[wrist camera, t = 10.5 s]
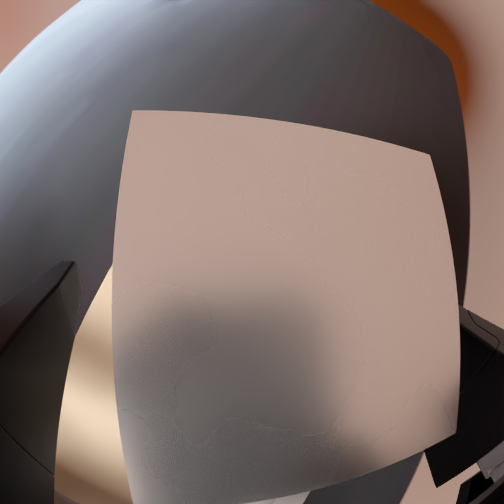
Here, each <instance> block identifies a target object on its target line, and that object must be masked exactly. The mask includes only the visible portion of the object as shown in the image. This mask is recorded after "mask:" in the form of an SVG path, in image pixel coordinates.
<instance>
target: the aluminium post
mask: <svg viewBox="0 0 504 504" xmlns="http://www.w3.org/2000/svg"><path fill="white" fill-rule="evenodd" d="M112 350H113V369H114V383H115V395H116V405H117V414H118V423H119V430H120V437H121V444H122V450H123V456H124V462H125V468H126V473H127V478H128V483H129V488H130V492H131V497H132V501H133V504H244V503H251V502H258V501H264V500H270V499H276V498H281V497H286V496H291V495H295V494H300V493H304V492H308V491H312V490H316V489H320V488H323V487H327V486H330V485H334V484H337V483H341V482H344V481H347V480H350V479H353V478H356V477H359V476H362V475H365V474H368V473H370V472H373V471H376V470H378V469H381V468H383V467H386V466H388V465H391V464H393V463H396V462H398V461H400V460H403V459H405V458H407V457H409V456H412V455H414V454H416V453H418V452H420V451H422V450H424V449H426V448H428V447H430V446H432V445H434V444H436V443H438V442H440V441H442V440H444V439H446V438H448V437H449V436H451V435H453V434H455V433H456V426H457V416H458V404H459V388H460V326H459V309H458V297H457V287H456V278H455V270H454V262H453V256H452V249H451V243H450V237H449V232H448V226H447V221H446V217H445V212H444V207H443V203H442V199H441V194H440V190H439V186H438V182H437V179H436V175H435V171H434V168H433V164H432V161H431V158H430V155H429V154H425V153H422V152H419V151H415V150H412V149H409V148H405V147H402V146H398V145H394V144H391V143H387V142H383V141H379V140H375V139H371V138H367V137H363V136H358V135H354V134H349V133H345V132H340V131H335V130H330V129H325V128H320V127H314V126H309V125H303V124H297V123H291V122H284V121H277V120H270V119H262V118H254V117H246V116H236V115H226V114H214V113H200V112H181V111H133V112H132V117H131V121H130V126H129V132H128V137H127V142H126V148H125V154H124V160H123V167H122V174H121V181H120V188H119V196H118V205H117V215H116V225H115V237H114V252H113V271H112Z"/></svg>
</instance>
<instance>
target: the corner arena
mask: <svg viewBox="0 0 504 504" xmlns="http://www.w3.org/2000/svg"><path fill="white" fill-rule="evenodd" d="M112 271H113V264H112V266H111V268H110V270H109V272H108V273H107V275H106V277H105V279H104V281H103V283H102V284H101V286H100V288H99V290H98V292H97V294H96V296H95V298H94V300H93V302H92V304H91V306H90V308H89V310H88V312H87V314H86V316H85V318H84V320H83V322H82V324H81V326H80V328H79V330H78V332H77V334H76V336H75V339H74V344H73V348H72V353H71V357H70V362H69V367H68V372H67V377H66V383H65V388H64V394H63V400H62V407H61V414H60V421H59V429H58V438H57V449H56V461H55V475H54V477H55V484H54V504H133V501H132V497H131V492H130V488H129V483H128V478H127V473H126V468H125V462H124V456H123V450H122V444H121V437H120V430H119V423H118V414H117V405H116V395H115V383H114V369H113V350H112ZM309 493H310V491H308V492H304V493H300V494H295V495H291V496H286V497H281V498H276V499H270V500H264V501H258V502H251V503H244V504H303V502H304V501H305V499H306V497H307V496H308V494H309Z"/></svg>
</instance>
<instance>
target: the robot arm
mask: <svg viewBox="0 0 504 504" xmlns="http://www.w3.org/2000/svg"><path fill="white" fill-rule="evenodd" d="M80 297H81V283H80V278H79V273H78V268H77V264H76V263H75V262H74V261H61V262H60V263H58V264H57V265H55V266H54V267H53V268H51V269H50V270H48V271H47V272H45V273H44V274H43V275H41V276H40V277H38V278H37V279H36V280H34V281H33V282H31V283H30V284H29V285H27V286H26V287H25V288H23V289H22V290H21V291H19V292H18V293H17V294H15V295H14V296H13V297H11V298H10V299H9V300H7V301H6V302H5V303H4V304H2V305H1V306H0V504H54V484H55V477H54V475H55V461H56V449H57V438H58V429H59V421H60V414H61V407H62V400H63V394H64V388H65V383H66V377H67V372H68V367H69V362H70V357H71V353H72V348H73V344H74V339H75V332H76V324H77V317H78V310H79V303H80ZM458 309H459V326H460V388H459V404H458V416H457V426H456V433H455V434H453V435H451V436H449V437H448V438H446V439H444V440H442V441H440V442H438V443H436V444H434V445H432V446H430V447H428V448H426V449H424V452H425V455H426V458H427V461H428V464H429V467H430V470H431V474H432V477H433V480H434V483H435V486H436V488H438V487H439V486H441V485H443V484H444V483H446V482H447V481H449V480H451V479H452V478H454V477H455V476H457V475H458V474H460V473H461V472H463V471H464V470H466V469H467V468H468V467H470V466H471V465H473V464H474V463H476V462H477V464H478V466H479V468H480V471H479V472H477V473H476V474H475V475H473V476H472V477H470V478H469V479H468V480H466V481H465V482H463V483H462V484H461V486H460V490H459V494H458V498H457V502H456V504H504V330H503V329H502V328H500V327H498V326H496V325H494V324H492V323H490V322H489V321H487V320H485V319H483V318H481V317H479V316H478V315H476V314H474V313H472V312H471V311H469V310H466V309H465V308H463V307H462V306H460V305H458Z"/></svg>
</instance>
